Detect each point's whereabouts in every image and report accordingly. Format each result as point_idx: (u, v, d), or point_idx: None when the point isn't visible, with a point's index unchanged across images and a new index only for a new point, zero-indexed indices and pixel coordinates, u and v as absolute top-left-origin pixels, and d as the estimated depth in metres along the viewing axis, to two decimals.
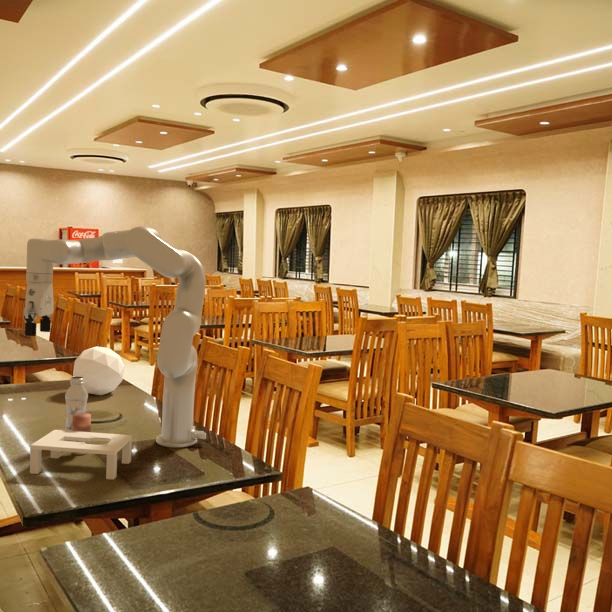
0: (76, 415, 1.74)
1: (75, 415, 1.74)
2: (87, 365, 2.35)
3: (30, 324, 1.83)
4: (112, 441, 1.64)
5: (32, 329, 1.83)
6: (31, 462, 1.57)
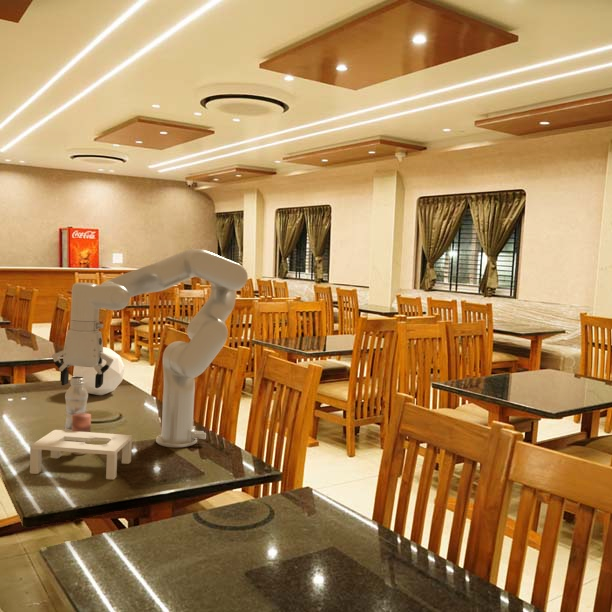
0: (76, 415, 1.74)
1: (75, 415, 1.74)
2: None
3: (102, 374, 1.73)
4: (112, 441, 1.64)
5: None
6: (31, 462, 1.57)
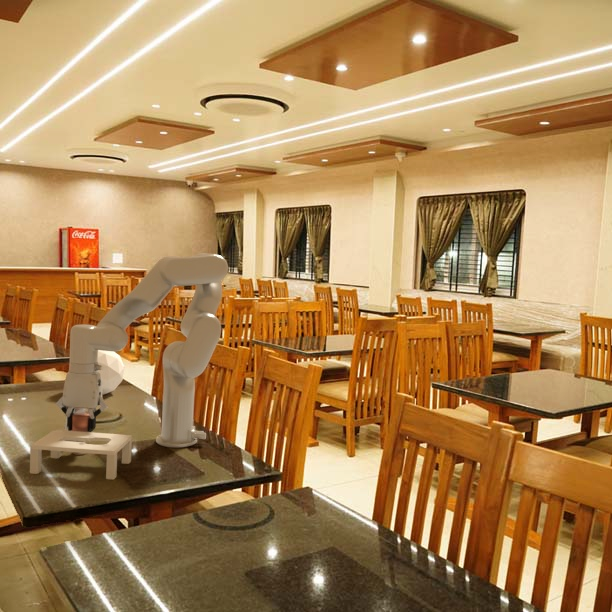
0: (76, 415, 1.74)
1: (75, 415, 1.74)
2: None
3: (95, 418, 1.74)
4: (112, 441, 1.64)
5: None
6: (31, 462, 1.57)
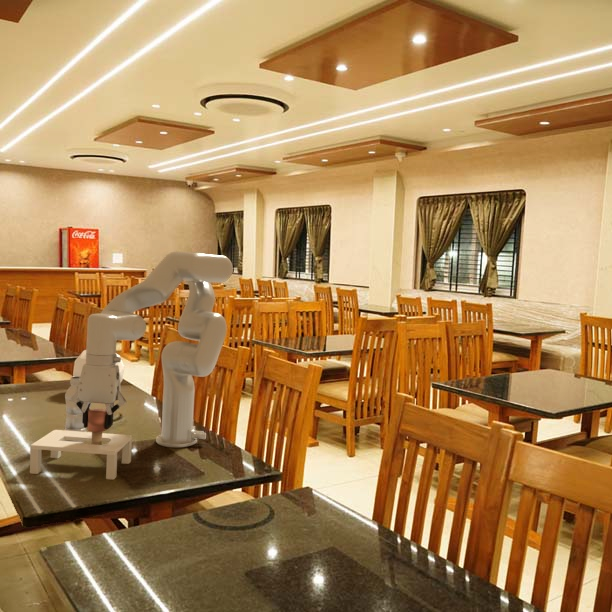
0: (92, 411, 1.62)
1: (91, 411, 1.62)
2: None
3: (112, 414, 1.63)
4: (112, 441, 1.64)
5: None
6: (31, 462, 1.57)
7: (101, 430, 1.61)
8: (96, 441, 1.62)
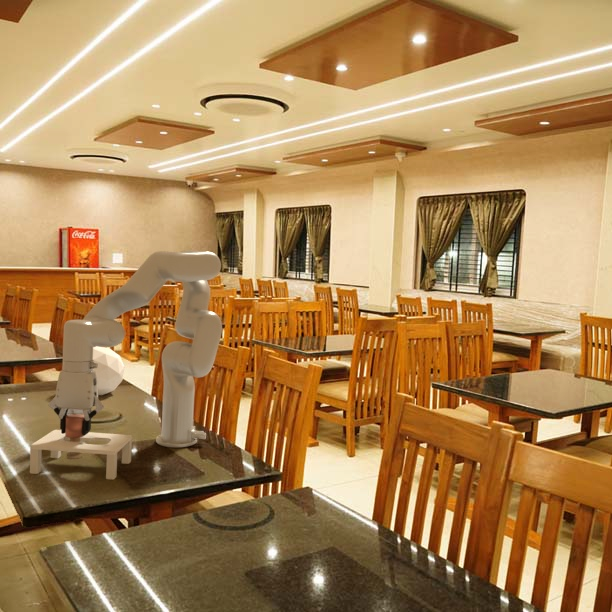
0: (70, 417, 1.62)
1: (69, 417, 1.62)
2: None
3: (90, 420, 1.63)
4: (112, 441, 1.64)
5: None
6: (31, 462, 1.57)
7: (79, 436, 1.61)
8: None
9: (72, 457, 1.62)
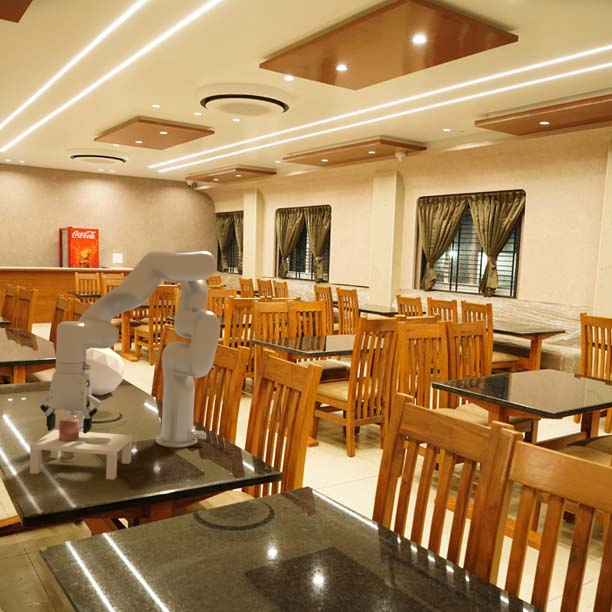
0: (63, 421, 1.63)
1: (62, 421, 1.63)
2: None
3: (91, 418, 1.63)
4: (112, 441, 1.64)
5: None
6: (31, 462, 1.57)
7: (72, 440, 1.62)
8: None
9: (66, 461, 1.62)
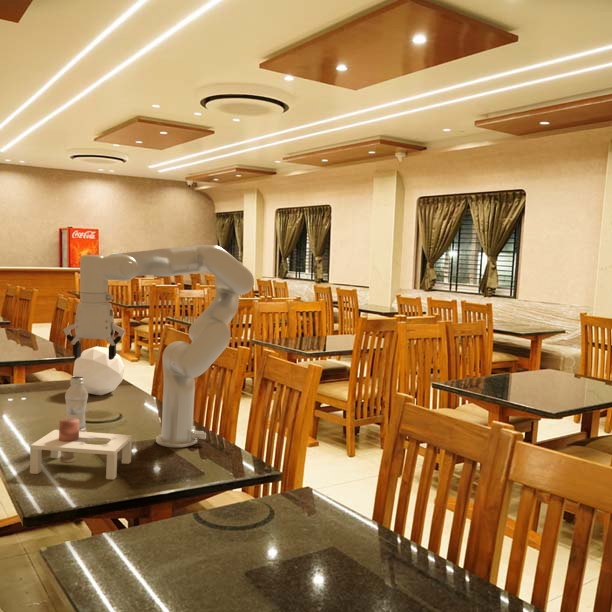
0: (63, 421, 1.63)
1: (62, 421, 1.63)
2: (87, 365, 2.35)
3: (115, 346, 1.73)
4: (112, 441, 1.64)
5: None
6: (31, 462, 1.57)
7: (72, 440, 1.62)
8: None
9: (66, 461, 1.62)
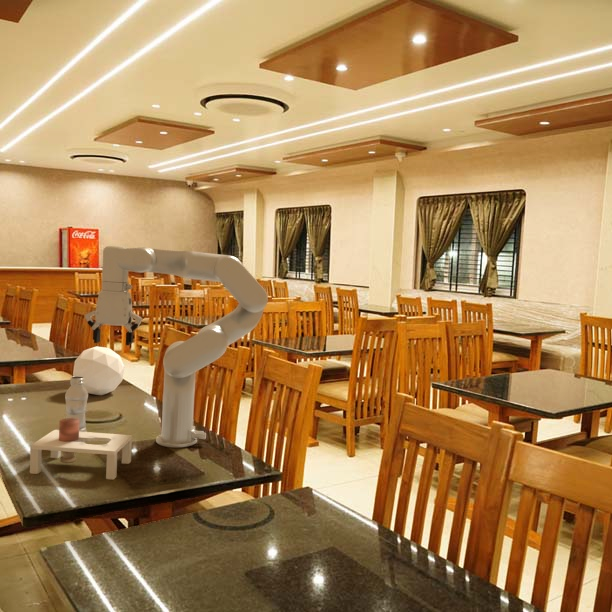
0: (63, 421, 1.63)
1: (62, 421, 1.63)
2: (87, 365, 2.35)
3: (132, 332, 1.84)
4: (112, 441, 1.64)
5: None
6: (31, 462, 1.57)
7: (72, 440, 1.62)
8: None
9: (66, 461, 1.62)
